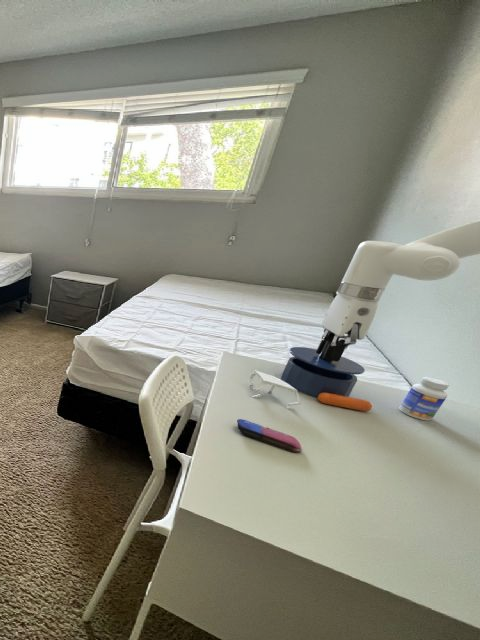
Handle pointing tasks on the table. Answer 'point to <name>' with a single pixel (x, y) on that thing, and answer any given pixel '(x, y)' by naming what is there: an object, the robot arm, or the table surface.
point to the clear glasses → (274, 382)
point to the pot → (317, 379)
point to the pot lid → (317, 360)
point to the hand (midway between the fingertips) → (326, 356)
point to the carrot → (345, 401)
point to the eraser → (269, 436)
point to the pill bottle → (424, 398)
